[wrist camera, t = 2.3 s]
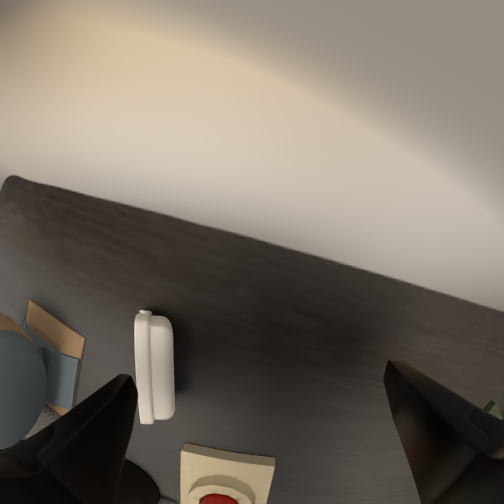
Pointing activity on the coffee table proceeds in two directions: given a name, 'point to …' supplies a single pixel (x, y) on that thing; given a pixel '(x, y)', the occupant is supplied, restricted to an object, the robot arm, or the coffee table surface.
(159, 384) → the soap
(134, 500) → the mug
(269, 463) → the button block
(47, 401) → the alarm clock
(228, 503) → the button
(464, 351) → the coffee table surface
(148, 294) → the coffee table surface
